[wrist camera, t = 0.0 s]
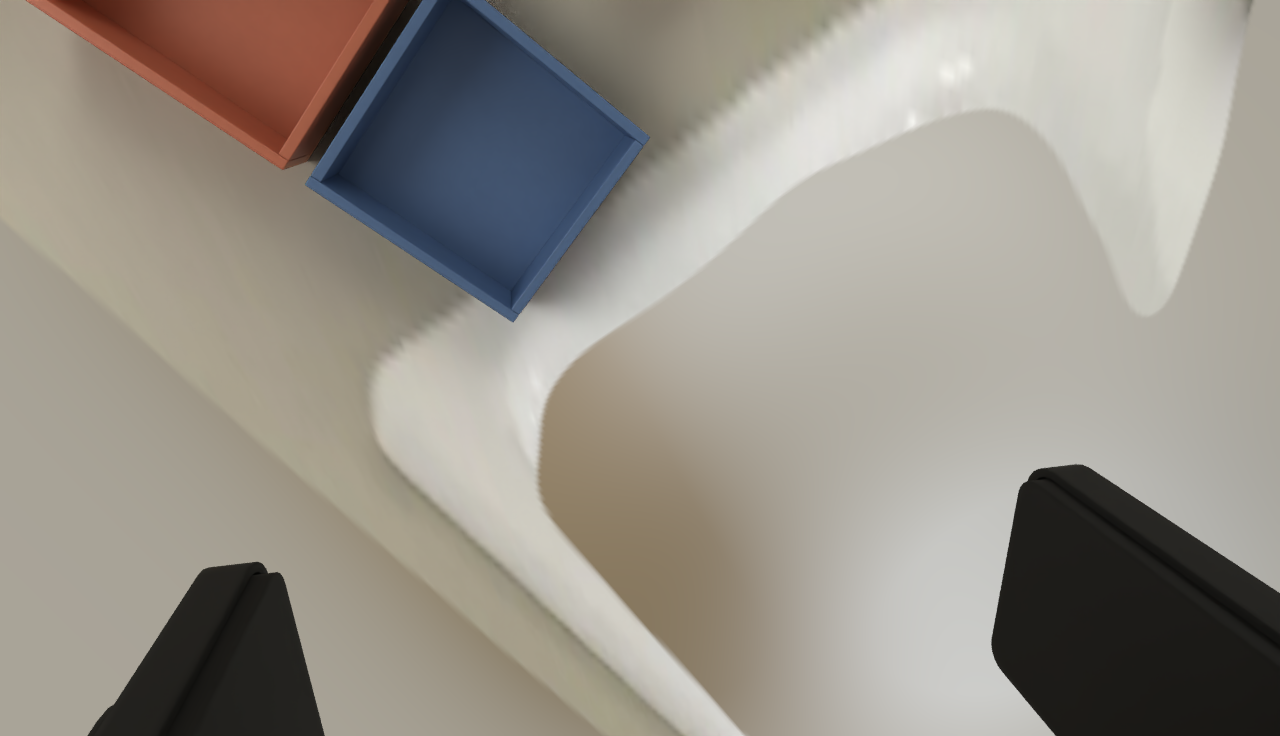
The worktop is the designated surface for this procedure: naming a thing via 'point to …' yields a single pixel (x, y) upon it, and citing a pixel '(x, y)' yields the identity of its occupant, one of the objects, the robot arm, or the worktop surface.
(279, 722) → the robot arm
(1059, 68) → the worktop surface
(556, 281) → the worktop surface
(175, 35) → the red bin
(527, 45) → the blue bin
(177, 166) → the worktop surface
